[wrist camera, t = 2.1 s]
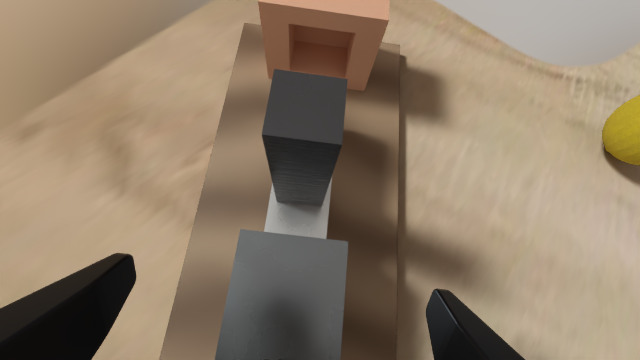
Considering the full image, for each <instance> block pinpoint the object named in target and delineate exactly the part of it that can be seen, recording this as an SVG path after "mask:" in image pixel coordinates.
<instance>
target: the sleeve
mask: <svg viewBox="0 0 640 360" xmlns="http://www.w3.org/2000/svg"><path fill="white" fill-rule="evenodd" d="M347 256H348V241H340V240H331V239H323V238H314V237H305V236H297V235H288V234H279V233H271V232H262V231H254V230H245V229H240V233H239V238H238V243H237V248H236V253H235V258H234V263H233V268H232V274H231V279H230V284H229V289H228V294H227V299H226V304H225V309H224V314H223V319H222V324H221V329H220V334H219V339H218V345H217V350H216V355H215V360H340V357H341V343H342V328H343V314H344V299H345V285H346V270H347Z"/></svg>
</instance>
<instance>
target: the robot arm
mask: <svg viewBox="0 0 640 360" xmlns="http://www.w3.org/2000/svg"><path fill="white" fill-rule="evenodd" d="M135 281H136V271H135V265H134V260H133V257H132V255H130V254H123V253H115V254H113V255H111V256H109V257H106V258H104V259H102V260H100V261H98V262H96V263H94V264H92V265H90V266H88V267H86V268H84V269H81V270H79V271H77V272H75V273H73V274H71V275H69V276H67V277H65V278H63V279H61V280H59V281H56V282H54V283H52V284H50V285H48V286H46V287H44V288H42V289H40V290H38V291H36V292H34V293H32V294H29V295H27V296H25V297H23V298H21V299H19V300H17V301H15V302H13V303H11V304H9V305H7V306H4V307H2V308H0V360H91V359H92V358H93V356H94V355H95V353H96V352H97V350H98V349H99V347H100V346H101V344H102V343H103V341H104V339H105V338H106V336H107V335H108V333H109V331H110V329H111V328H112V326H113V324H114V322H115V320H116V318H117V316H118V314H119V312H120V311H121V309H122V307H123V305H124V303H125V301H126V299H127V297H128V295H129V294H130V292H131V290H132V288H133V286H134V284H135ZM426 318H427V323H428V328H429V334H430V339H431V345H432V350H433V355H434V360H525V359H524V358H523V357H522V356H521V355H519V354H518V353H517V352H516V351H515V350H514V349H513V348H512V347H511V346H510V345H508V344H507V343H506V342H505V341H504V340H503V339H502V338H501V337H500V336H499V335H498V334H496V333H495V332H494V331H493V330H492V329H491V328H490V327H489V326H488V325H487V324H485V323H484V322H483V321H482V320H481V319H480V318H479V317H478V316H477V315H476V314H474V313H473V312H472V311H471V310H470V309H469V308H468V307H467V306H466V305H465V304H464V303H462V302H461V301H460V300H459V299H458V298H457V297H456V296H455V295H454V294H453V293H451V292H450V291H449V290H445V289H434V290H433V292H432V295H431V297H430V300H429V302H428V305H427V308H426Z"/></svg>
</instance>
